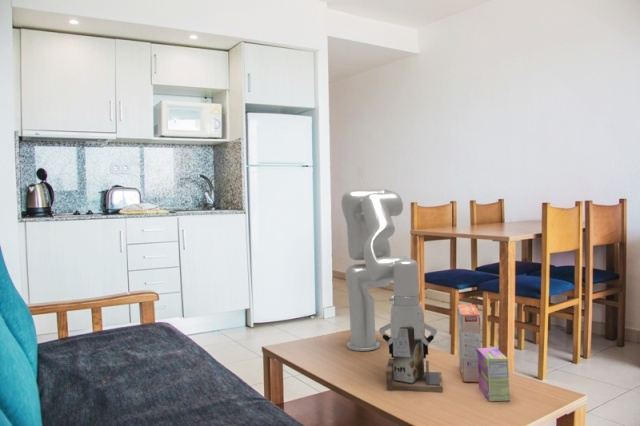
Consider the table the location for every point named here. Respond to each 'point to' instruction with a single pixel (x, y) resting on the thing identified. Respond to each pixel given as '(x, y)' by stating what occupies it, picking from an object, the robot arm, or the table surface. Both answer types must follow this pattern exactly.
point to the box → (493, 374)
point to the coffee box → (407, 356)
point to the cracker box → (469, 342)
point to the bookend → (432, 376)
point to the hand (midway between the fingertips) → (408, 356)
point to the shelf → (406, 386)
